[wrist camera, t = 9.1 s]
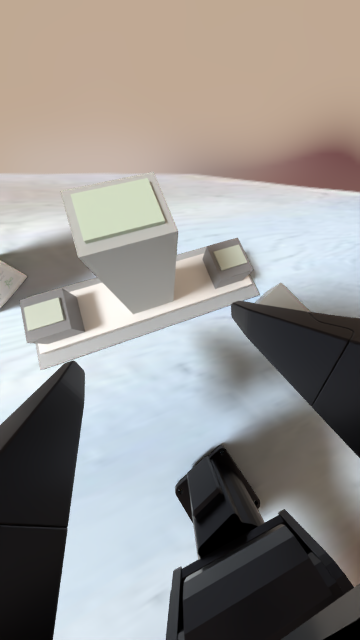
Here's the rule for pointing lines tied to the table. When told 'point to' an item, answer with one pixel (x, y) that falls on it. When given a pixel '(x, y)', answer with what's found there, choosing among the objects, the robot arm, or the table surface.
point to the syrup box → (9, 281)
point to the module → (126, 238)
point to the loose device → (281, 299)
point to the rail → (121, 325)
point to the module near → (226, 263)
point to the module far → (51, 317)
